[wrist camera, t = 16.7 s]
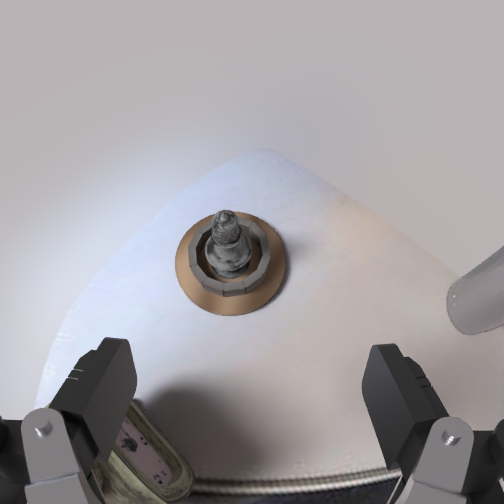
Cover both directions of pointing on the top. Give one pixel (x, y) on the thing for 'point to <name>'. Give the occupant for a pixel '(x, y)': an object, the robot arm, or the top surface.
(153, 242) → the top surface
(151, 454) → the tabletop clock
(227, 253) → the grey tall piece
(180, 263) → the socket stand
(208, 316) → the top surface
